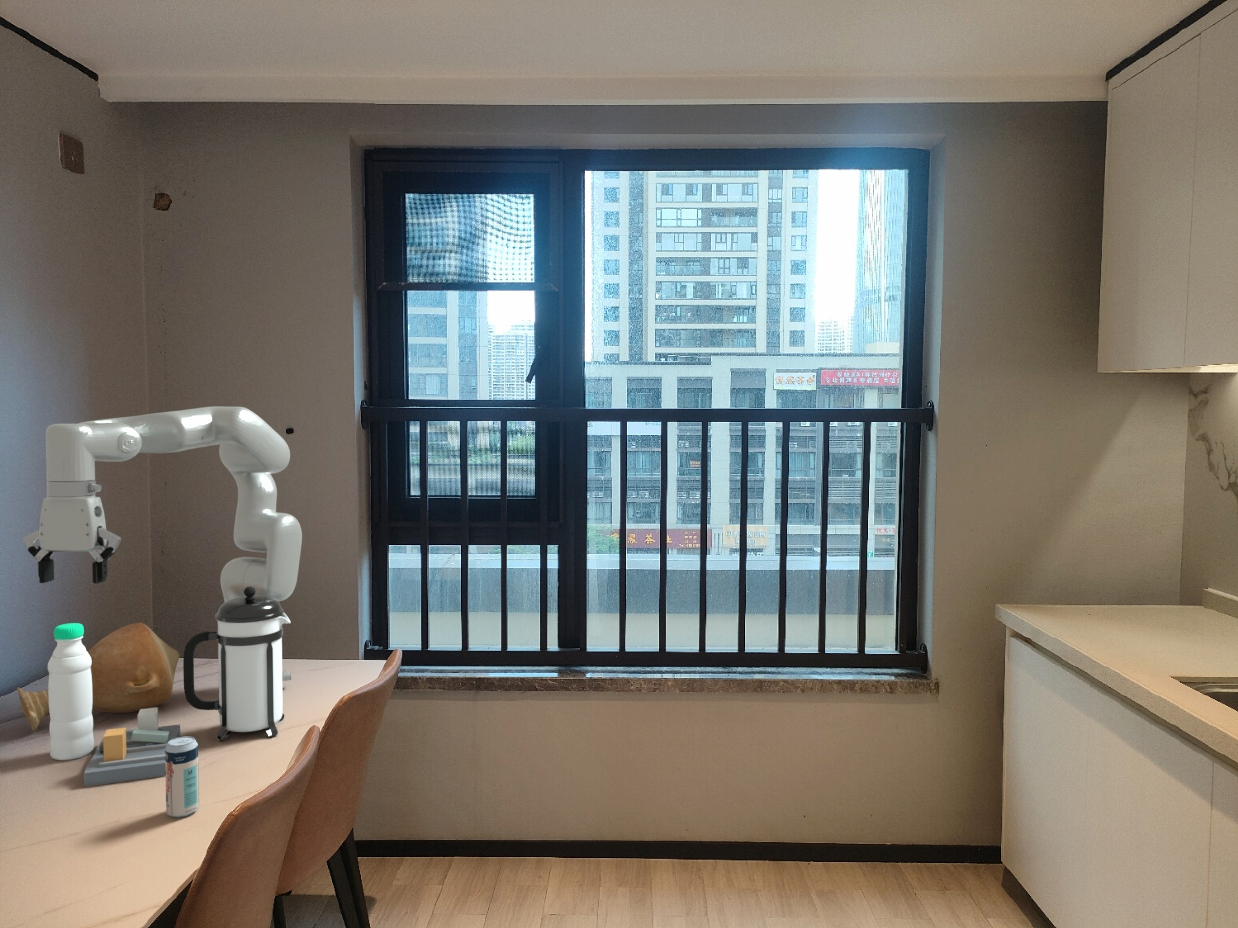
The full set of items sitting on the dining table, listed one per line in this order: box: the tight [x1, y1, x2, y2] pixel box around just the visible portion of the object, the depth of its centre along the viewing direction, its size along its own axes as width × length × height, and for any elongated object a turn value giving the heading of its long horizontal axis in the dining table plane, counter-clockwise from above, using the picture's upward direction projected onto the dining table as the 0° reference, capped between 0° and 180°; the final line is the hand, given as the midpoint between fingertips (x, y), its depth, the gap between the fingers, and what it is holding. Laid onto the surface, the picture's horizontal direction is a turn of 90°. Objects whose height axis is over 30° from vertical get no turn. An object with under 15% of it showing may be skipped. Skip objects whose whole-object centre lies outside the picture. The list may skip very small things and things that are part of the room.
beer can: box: [165, 735, 200, 818], centre depth 138 cm, size 5×5×12 cm
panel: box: [83, 724, 181, 787], centre depth 159 cm, size 13×20×4 cm, turn 22°
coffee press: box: [182, 586, 291, 742], centre depth 173 cm, size 17×16×30 cm
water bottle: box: [47, 622, 95, 761], centre depth 160 cm, size 7×7×25 cm
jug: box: [16, 622, 180, 732], centre depth 181 cm, size 20×19×30 cm
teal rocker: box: [131, 728, 169, 743], centre depth 160 cm, size 6×2×1 cm, turn 112°
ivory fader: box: [137, 706, 159, 731], centre depth 164 cm, size 3×4×5 cm
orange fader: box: [102, 727, 127, 762], centre depth 153 cm, size 3×4×5 cm
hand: (73, 581), depth 157 cm, fingers open, 9 cm apart
